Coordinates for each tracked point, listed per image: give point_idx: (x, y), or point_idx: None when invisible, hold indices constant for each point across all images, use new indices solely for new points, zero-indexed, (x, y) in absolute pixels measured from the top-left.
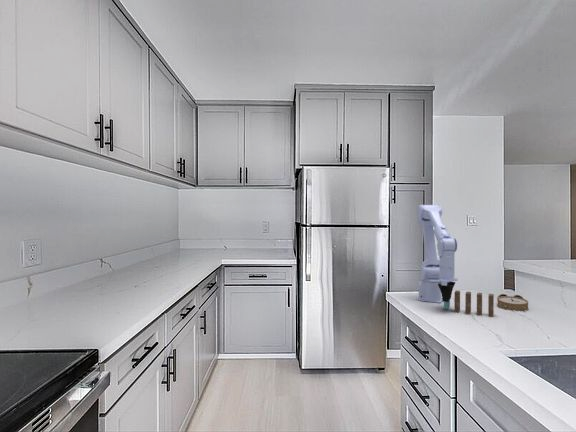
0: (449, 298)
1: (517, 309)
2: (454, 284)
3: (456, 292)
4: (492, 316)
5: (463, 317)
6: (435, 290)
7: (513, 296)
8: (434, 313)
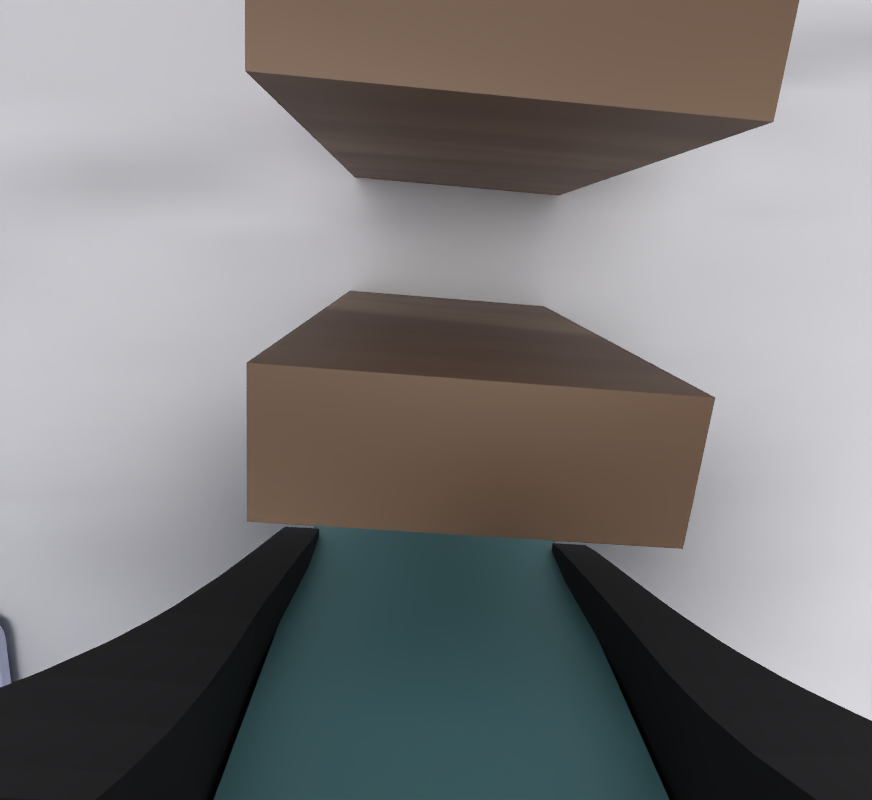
0: (346, 554)
1: None
2: (87, 773)
3: (694, 481)
4: None
5: (847, 223)
6: None
7: None
8: (734, 628)
